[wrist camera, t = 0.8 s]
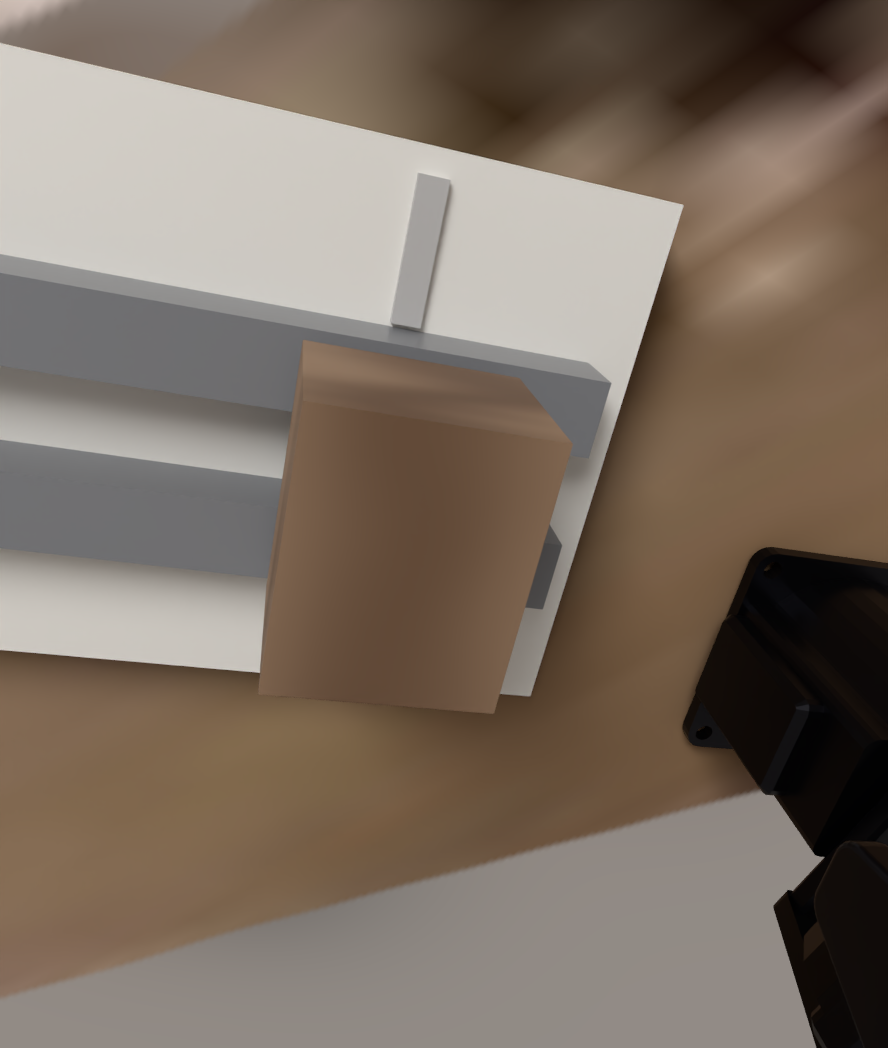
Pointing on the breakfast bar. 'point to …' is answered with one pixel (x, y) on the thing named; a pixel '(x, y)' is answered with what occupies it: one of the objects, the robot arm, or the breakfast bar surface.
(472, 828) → the breakfast bar surface
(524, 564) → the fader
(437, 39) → the breakfast bar surface
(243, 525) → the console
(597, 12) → the breakfast bar surface
